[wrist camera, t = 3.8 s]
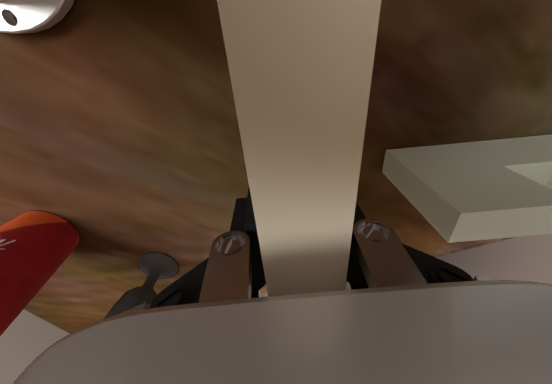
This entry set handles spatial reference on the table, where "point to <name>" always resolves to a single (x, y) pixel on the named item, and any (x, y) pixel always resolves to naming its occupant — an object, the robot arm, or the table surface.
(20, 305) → the coffee cup
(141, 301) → the sundae
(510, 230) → the sage board
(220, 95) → the table surface
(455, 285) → the robot arm
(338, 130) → the maple plate
